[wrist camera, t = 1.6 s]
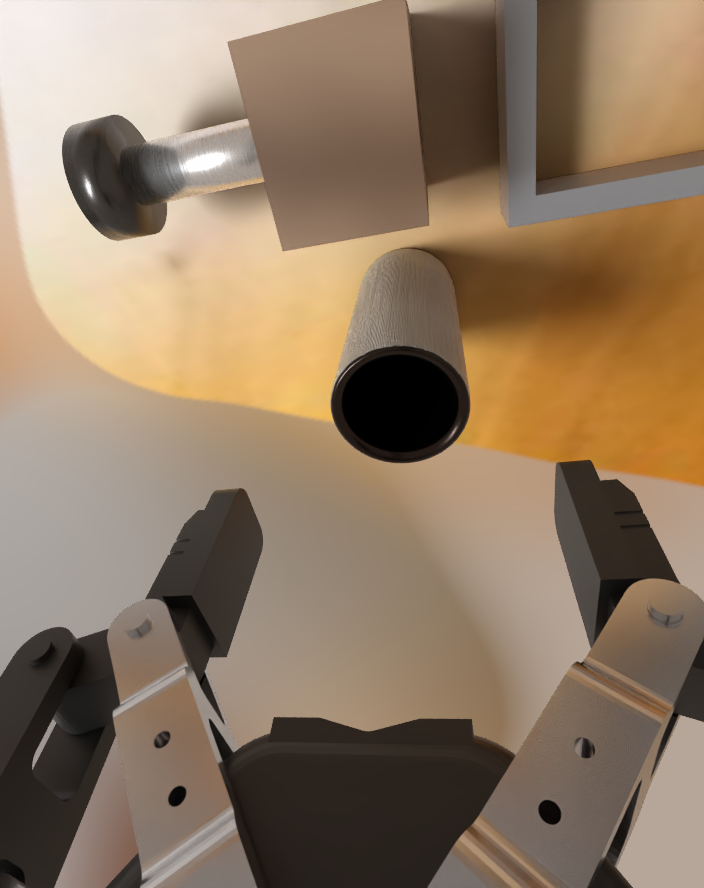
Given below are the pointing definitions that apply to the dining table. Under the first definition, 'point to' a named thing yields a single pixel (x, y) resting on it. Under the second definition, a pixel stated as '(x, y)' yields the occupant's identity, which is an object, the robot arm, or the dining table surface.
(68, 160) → the shaft
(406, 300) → the grey cylinder
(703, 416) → the dining table surface
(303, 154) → the guide block
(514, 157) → the grey open frame
